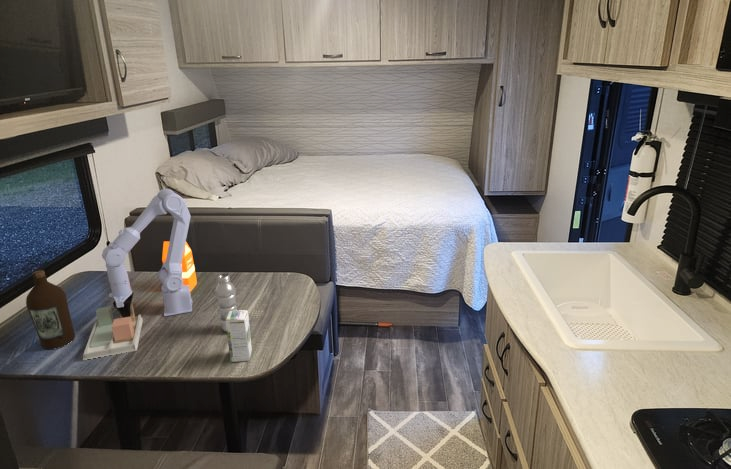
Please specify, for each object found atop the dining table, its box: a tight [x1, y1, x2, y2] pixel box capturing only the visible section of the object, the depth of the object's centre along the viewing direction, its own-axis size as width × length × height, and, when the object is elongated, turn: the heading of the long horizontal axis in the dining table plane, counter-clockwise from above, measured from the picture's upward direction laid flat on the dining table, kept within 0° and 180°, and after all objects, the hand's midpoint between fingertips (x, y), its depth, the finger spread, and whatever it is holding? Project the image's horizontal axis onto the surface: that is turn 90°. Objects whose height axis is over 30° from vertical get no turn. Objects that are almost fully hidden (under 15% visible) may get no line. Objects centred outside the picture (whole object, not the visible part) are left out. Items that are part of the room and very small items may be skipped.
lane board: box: [82, 314, 144, 361], centre depth 155 cm, size 20×15×2 cm
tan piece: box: [114, 302, 138, 343], centre depth 157 cm, size 14×6×6 cm, turn 19°
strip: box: [90, 306, 114, 348], centre depth 155 cm, size 14×6×6 cm, turn 19°
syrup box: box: [225, 309, 253, 363], centre depth 142 cm, size 6×6×14 cm
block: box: [112, 317, 134, 341], centre depth 153 cm, size 5×5×5 cm
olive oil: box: [25, 269, 76, 350], centre depth 150 cm, size 11×11×25 cm
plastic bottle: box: [214, 272, 238, 333], centre depth 156 cm, size 6×7×20 cm
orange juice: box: [161, 240, 198, 293], centre depth 186 cm, size 8×9×20 cm
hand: (127, 316), depth 163 cm, fingers closed on tan piece, 3 cm apart
